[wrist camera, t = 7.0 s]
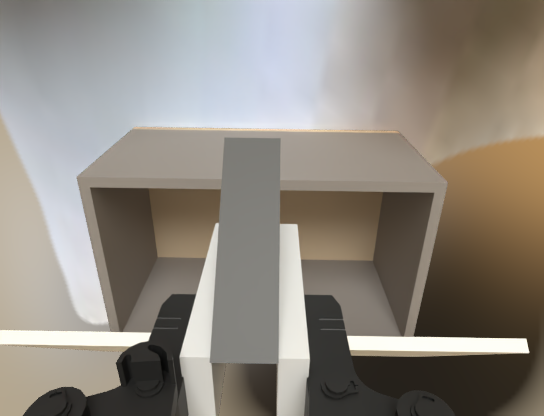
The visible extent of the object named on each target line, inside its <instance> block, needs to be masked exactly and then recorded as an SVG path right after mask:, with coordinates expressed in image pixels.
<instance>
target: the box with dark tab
mask: <svg viewBox="0 0 544 416" xmlns="http://www.w3.org/2000/svg"><path fill="white" fill-rule="evenodd" d="M280 147H281V138H226V137H224V152H223V168H222V183H221V198H220V213H219V228H218V244H217V259H216V274H215V289H214V305H213V320H212V335H211V350H210V363H255V364H256V363H257V364H279V257H280ZM150 335H151V333H137V332H76V331H15V330H13V331H12V330H10V331H9V330H0V345H8V346H25V347H41V348H58V349H75V350H92V351H110V352H111V351H112V352H124V351H126V350H127V349H128V348H129V347H131V346H133V345H135V344H137V343H140V342H145V341H148V340H149V337H150ZM347 339H348V343H349V348H350V353H351V355H354V356H413V357H414V356H415V357H416V356H417V357H418V356H449V355H478V354H508V353H529V350H528V345H527V341H526V339H503V338H501V339H499V338H443V337H382V336H347Z"/></svg>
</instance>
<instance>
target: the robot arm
mask: <svg viewBox="0 0 544 416" xmlns="http://www.w3.org/2000/svg"><path fill="white" fill-rule="evenodd" d="M218 228H219V223H216V224H215V228H214V231H213V235H212V239H211V242H210V246H209V250H208V253H207V257H206V261H205V265H204V268H203V272H202V276H201V279H200V283H199V287H198V290H197V294H172V295H171V296H170V297H169V298H168V299H167V300H166V301H165V302H164V303H163V304H162V305H161V308H160V311H159V313H158V316H157V319H156V321H155V324H154V328H153V329H152V332H151V335H150V337H149V340H148V341H145V342H140V343H137V344H135V345H133V346H131V347H129V348H128V349H127V350H126V351H124V352H123V353H122V354H121V355H120V357H119V359H118V360H117V362H116V365H117V369H118V373H119V378H120V382H121V386H119V387H117V388H115V389H112V390H109V391H107V392H103V393H100V394H96V395H92V396H88V397H85V395H84V394H83V392H82V391H81V390H79V389H77V388H74V387H61V388H58V389H54V390H51V391H49V392H47V393H46V394H44V395H42V396H41V397H39V398H38V399H37V400H36V401H35V402H34V403H33V404H32V405H31V406H30V407H29V408H28V409H27V411H26V412H25V413H24V415H23V416H219V411H220V404H221V397H222V389H223V382H224V375H225V368H226V363H210V350H211V335H212V320H213V305H214V289H215V274H216V259H217V244H218ZM277 416H455V414H454V412H453V411H452V410H451V409H450V407H449V406H448V405H447V404H446V403H445V402H444V401H443V400H441V399H440V398H438V397H437V396H435V395H433V394H431V393H428V392H425V391H410V392H407V393H405V394H404V395H403V396H402V397H401V398H400V399H396V398H392V397H389V396H386V395H383V394H380V393H377V392H375V391H373V390H371V389H370V388H368V387H367V386H365V385H364V384H363V383H362V382H361V381H360V380H359V378H358V377H357V375H356V373H355V370H354V367H353V362H352V358H351V353H350V348H349V343H348V339H347V334H346V331H345V324H344V321H343V315H342V310H341V306H340V304H339V303H338V302H337V301H336V299H335V298H334V297H333V296H332V295H304V291H303V280H302V269H301V258H300V248H299V237H298V226H297V224H280V257H279V364H277Z"/></svg>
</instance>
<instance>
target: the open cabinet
mask: <svg viewBox="0 0 544 416" xmlns="http://www.w3.org/2000/svg"><path fill="white" fill-rule="evenodd" d="M224 137H226V138H281V147H280V224H297V226H298V237H299V248H300V258H301V269H302V280H303V291H304V295H332V296H333V297H334V298H335V299H336V301H337V302H338V303H339V304H340V306H341V310H342V315H343V321H344V324H345V331H346V334H347V336H382V337H413V335H414V330H415V326H416V321H417V317H418V313H419V308H420V304H421V299H422V295H423V291H424V285H425V282H426V277H427V272H428V269H429V264H430V260H431V255H432V251H433V246H434V242H435V237H436V233H437V229H438V224H439V220H440V215H441V211H442V206H443V202H444V197H445V193H446V189H447V184H448V182H447V181H446V180H445V179H444V178H443V177H442V176H441V175H440V174H439V173H438V172H437V171H436V170H435V169H434V168H433V167H432V166H431V165H430V164H429V163H428V162H427V161H426V160H425V158H424V157H423V156H422V155H421V154H420V153H419V152H418V151H417V150H416V149H415V148H414V147H413V146H412V145H411V144H410V143H409V142H408V141H407V140H406V139H405V138H404V137H403V136H402V135H401V134H400V133H399V132H398V131H367V130H300V129H233V128H167V127H134V128H133V129H132V130H131V131H130V132H128V133H127V134H126V135H125V136H124V137H123V138H121V139H120V140H119V141H118V142H117V143H116V144H114V145H113V146H112V147H111V148H110V149H109V150H107V151H106V152H105V153H104V154H103V155H102V156H100V157H99V158H98V159H97V160H96V161H95V162H93V163H92V164H91V165H90V166H89V167H88V168H86V169H85V170H84V171H83V172H82V173H81V174H80V175H78V176H77V181H78V185H79V190H80V194H81V199H82V204H83V208H84V213H85V217H86V222H87V226H88V231H89V235H90V240H91V244H92V249H93V253H94V258H95V262H96V267H97V272H98V276H99V281H100V285H101V290H102V294H103V299H104V303H105V308H106V312H107V317H108V321H109V326H110V330H111V332H137V333H151V332H152V329H153V328H154V324H155V321H156V319H157V316H158V313H159V311H160V308H161V305H162V304H163V303H164V302H165V301H166V300H167V299H168V298H169V297H170V296H171V295H172V294H197V290H198V287H199V283H200V279H201V276H202V272H203V268H204V265H205V261H206V257H207V253H208V250H209V246H210V242H211V239H212V235H213V231H214V228H215V224H216V223H219V213H220V198H221V183H222V168H223V152H224Z"/></svg>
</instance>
